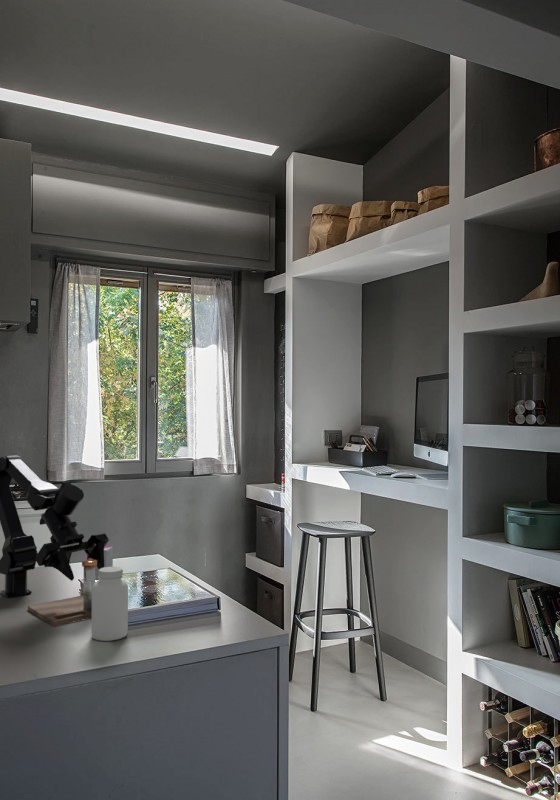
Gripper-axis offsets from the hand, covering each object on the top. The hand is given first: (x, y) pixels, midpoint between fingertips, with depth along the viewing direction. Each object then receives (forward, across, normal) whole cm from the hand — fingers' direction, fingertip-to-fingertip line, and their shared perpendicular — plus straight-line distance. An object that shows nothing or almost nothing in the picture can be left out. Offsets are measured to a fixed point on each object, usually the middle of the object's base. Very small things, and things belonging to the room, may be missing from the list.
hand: (88, 575), depth 164 cm
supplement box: (-5, -17, -19) cm, 26 cm away
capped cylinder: (+7, 0, -7) cm, 10 cm away
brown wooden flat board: (+3, +1, -11) cm, 11 cm away
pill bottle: (+19, +7, +4) cm, 20 cm away
